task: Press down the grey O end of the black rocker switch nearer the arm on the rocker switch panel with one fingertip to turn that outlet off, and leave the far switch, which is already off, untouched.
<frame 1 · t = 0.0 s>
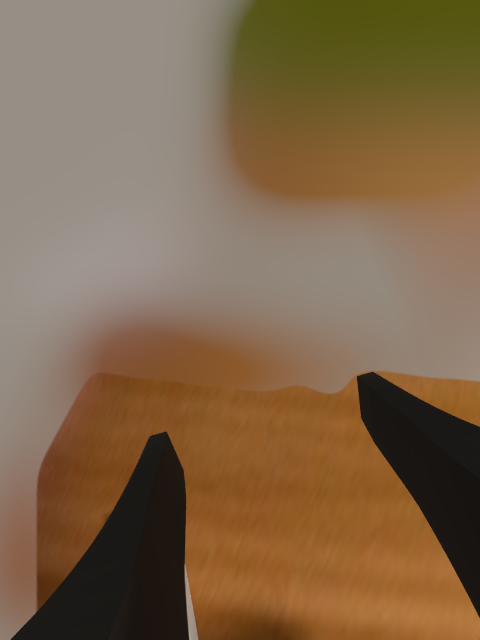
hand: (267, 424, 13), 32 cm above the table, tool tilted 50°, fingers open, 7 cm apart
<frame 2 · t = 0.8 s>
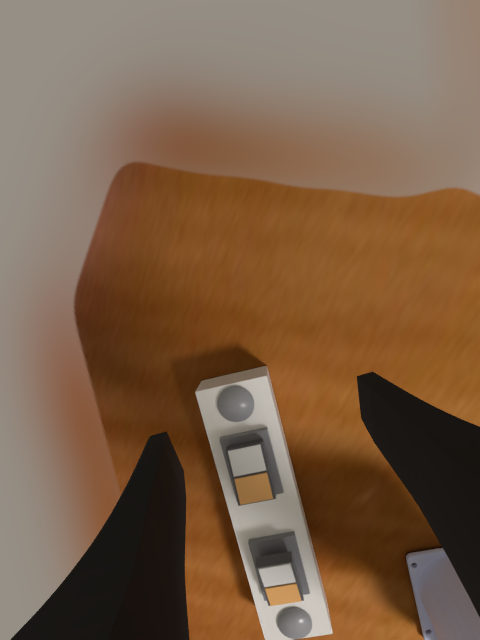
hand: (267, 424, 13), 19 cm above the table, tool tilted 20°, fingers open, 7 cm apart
rocker switch panel: (266, 495, 34), on the table
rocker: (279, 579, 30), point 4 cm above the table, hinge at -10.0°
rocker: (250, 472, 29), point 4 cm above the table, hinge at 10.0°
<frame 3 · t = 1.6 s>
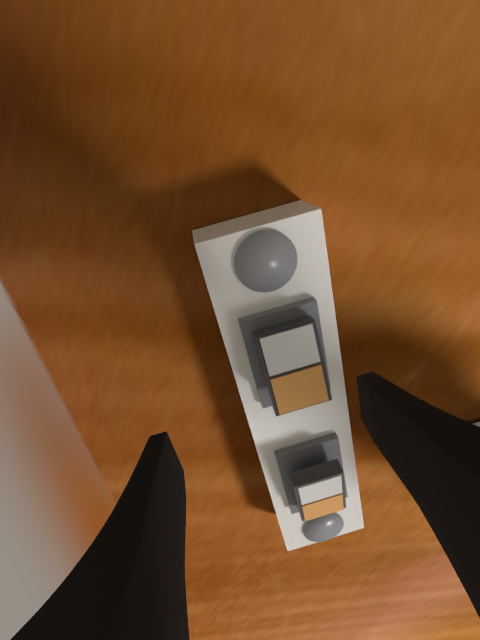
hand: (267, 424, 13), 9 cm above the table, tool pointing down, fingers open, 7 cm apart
rocker switch panel: (287, 391, 25), on the table
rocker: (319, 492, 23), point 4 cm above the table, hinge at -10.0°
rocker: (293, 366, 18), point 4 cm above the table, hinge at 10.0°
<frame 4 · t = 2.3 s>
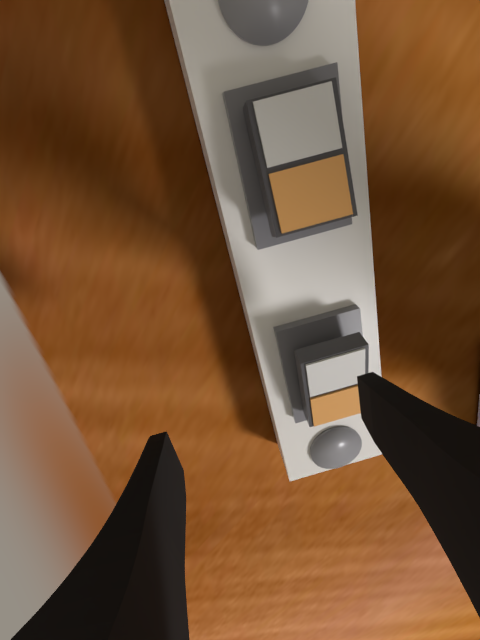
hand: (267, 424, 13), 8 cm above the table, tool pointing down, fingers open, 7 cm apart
rocker switch panel: (291, 263, 19), on the table
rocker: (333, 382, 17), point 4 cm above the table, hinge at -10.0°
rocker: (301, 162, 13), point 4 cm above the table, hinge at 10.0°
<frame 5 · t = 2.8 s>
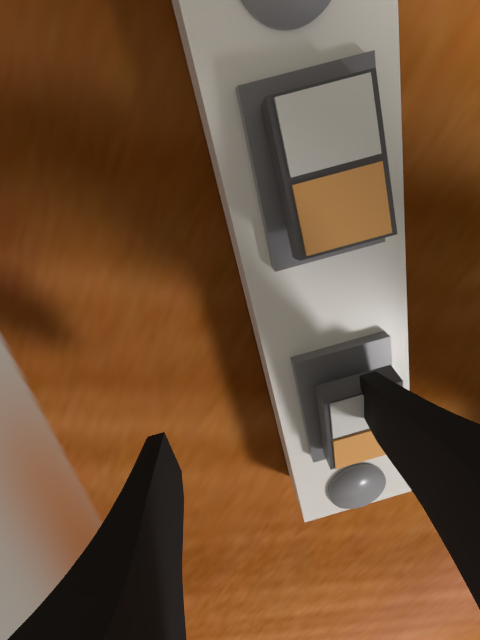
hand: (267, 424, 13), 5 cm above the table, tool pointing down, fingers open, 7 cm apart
rocker switch panel: (308, 281, 17), on the table
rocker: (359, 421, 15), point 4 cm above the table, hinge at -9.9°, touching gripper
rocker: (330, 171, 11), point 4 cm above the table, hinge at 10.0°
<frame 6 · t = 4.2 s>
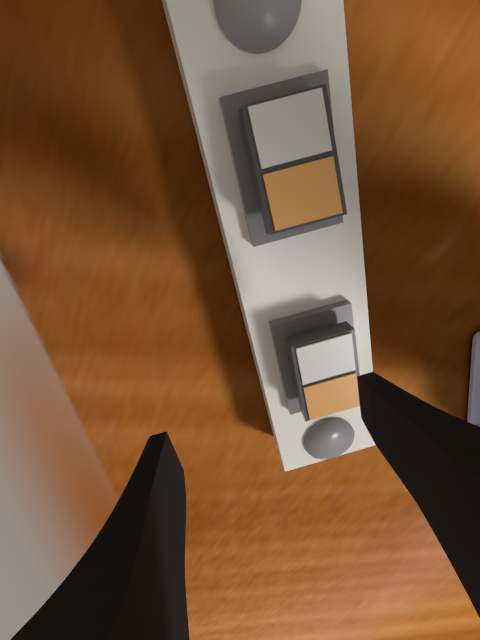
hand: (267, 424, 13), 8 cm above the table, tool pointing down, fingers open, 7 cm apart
rocker switch panel: (285, 260, 20), on the table
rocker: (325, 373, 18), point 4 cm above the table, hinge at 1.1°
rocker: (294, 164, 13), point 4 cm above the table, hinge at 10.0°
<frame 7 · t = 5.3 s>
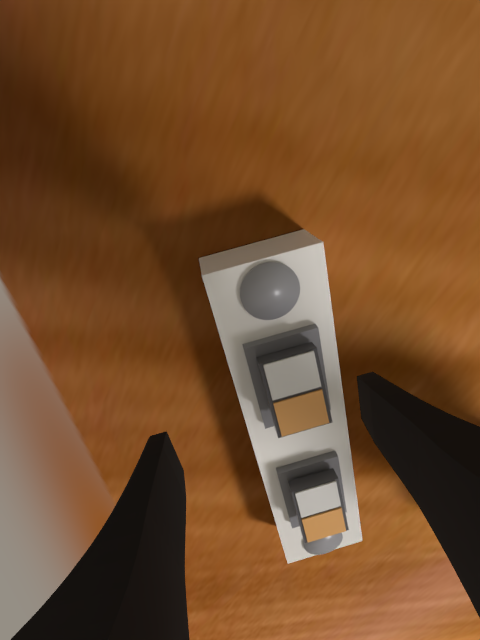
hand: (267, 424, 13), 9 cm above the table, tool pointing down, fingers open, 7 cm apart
rocker switch panel: (288, 409, 25), on the table
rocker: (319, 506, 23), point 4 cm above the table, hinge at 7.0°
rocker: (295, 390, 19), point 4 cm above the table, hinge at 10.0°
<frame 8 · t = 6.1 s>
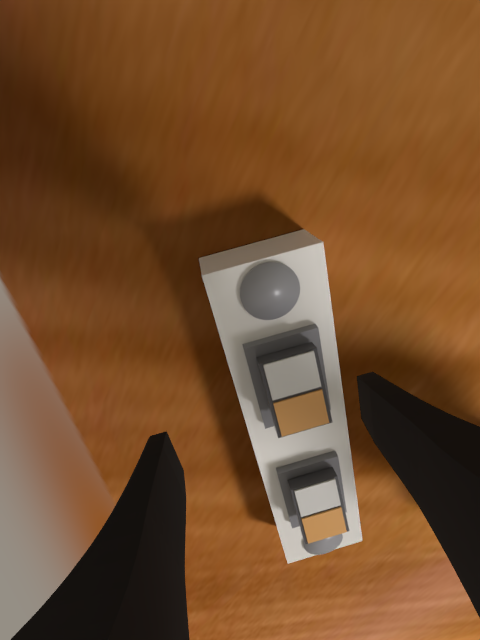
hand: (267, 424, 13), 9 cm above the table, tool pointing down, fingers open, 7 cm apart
rocker switch panel: (288, 409, 25), on the table
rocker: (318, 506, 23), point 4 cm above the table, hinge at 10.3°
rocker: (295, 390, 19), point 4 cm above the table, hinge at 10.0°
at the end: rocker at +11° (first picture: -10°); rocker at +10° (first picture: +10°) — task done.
